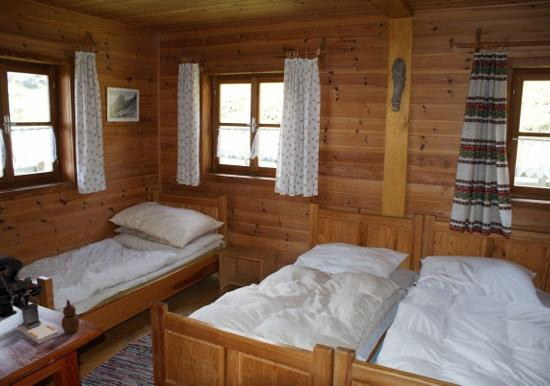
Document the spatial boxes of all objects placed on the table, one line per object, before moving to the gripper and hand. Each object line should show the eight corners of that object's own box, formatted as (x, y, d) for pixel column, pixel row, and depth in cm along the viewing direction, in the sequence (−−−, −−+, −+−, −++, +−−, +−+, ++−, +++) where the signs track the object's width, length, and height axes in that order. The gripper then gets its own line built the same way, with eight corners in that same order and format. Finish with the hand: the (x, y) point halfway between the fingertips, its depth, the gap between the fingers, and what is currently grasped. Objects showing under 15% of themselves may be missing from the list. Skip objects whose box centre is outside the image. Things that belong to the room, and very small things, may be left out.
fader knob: (21, 324, 195) (19, 306, 194) (34, 319, 200) (32, 302, 198) (28, 328, 192) (26, 310, 190) (41, 323, 196) (39, 305, 194)
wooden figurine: (72, 336, 190) (69, 302, 187) (60, 334, 192) (56, 300, 189) (82, 328, 197) (79, 295, 194) (70, 326, 198) (66, 294, 195)
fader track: (18, 330, 195) (17, 325, 195) (37, 322, 202) (36, 318, 201) (39, 343, 185) (38, 338, 184) (58, 335, 191) (58, 330, 190)
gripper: (-7, 279, 189) (9, 312, 184) (39, 266, 203) (55, 296, 199) (-13, 293, 195) (2, 325, 191) (32, 279, 209) (47, 308, 205)
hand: (27, 313), depth 196 cm, fingers closed
